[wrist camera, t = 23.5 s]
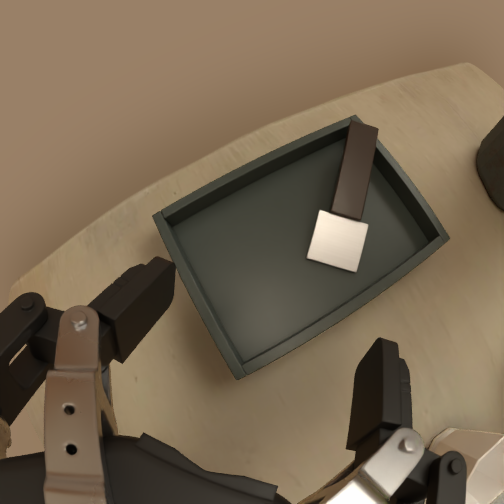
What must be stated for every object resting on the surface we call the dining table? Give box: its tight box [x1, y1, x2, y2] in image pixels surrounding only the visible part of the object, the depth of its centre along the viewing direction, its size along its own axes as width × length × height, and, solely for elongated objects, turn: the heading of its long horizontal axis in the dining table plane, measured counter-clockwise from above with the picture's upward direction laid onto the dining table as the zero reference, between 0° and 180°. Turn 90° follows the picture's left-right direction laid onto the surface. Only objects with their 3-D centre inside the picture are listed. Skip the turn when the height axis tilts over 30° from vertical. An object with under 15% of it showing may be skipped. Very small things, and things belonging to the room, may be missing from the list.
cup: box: [426, 428, 504, 504], centre depth 13 cm, size 7×10×8 cm
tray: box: [152, 115, 450, 380], centre depth 22 cm, size 20×14×3 cm
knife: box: [306, 120, 378, 273], centre depth 22 cm, size 4×2×12 cm
